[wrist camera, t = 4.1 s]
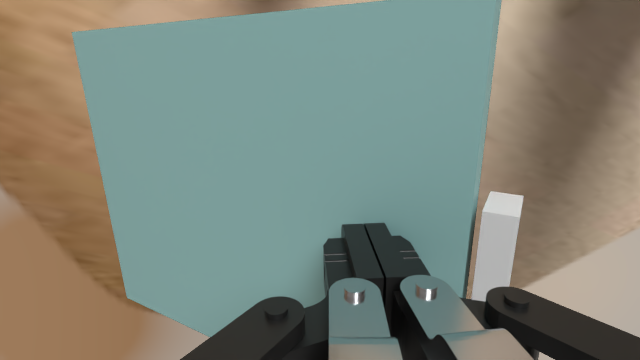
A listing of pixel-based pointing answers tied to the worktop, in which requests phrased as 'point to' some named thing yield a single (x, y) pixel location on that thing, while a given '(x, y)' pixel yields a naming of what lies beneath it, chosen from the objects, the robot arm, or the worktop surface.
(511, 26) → the worktop surface
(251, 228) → the lid
